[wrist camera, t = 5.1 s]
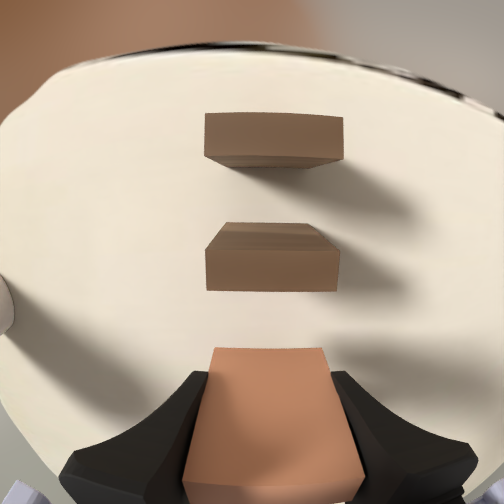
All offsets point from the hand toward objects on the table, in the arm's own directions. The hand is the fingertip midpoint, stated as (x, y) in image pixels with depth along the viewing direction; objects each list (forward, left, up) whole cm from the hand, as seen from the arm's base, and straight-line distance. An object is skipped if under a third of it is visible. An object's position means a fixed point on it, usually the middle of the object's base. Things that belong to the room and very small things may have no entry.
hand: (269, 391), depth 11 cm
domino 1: (+10, 0, -8) cm, 13 cm away
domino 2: (+5, 0, -8) cm, 10 cm away
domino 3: (0, 0, -2) cm, 2 cm away
